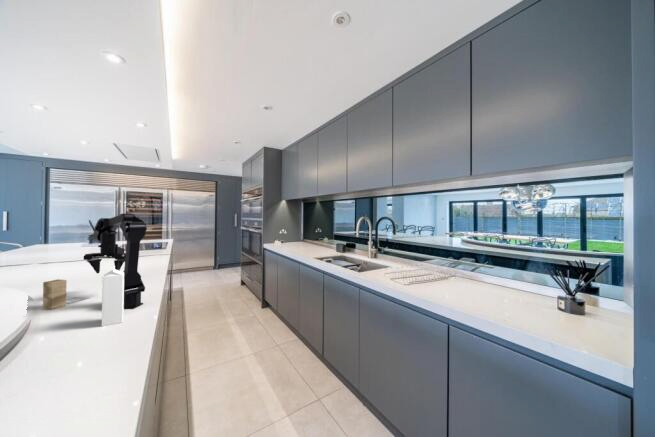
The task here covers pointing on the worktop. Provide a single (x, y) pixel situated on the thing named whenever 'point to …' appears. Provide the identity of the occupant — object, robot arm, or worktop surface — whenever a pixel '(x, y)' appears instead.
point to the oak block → (54, 294)
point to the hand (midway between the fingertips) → (107, 273)
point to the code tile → (75, 300)
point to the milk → (112, 297)
